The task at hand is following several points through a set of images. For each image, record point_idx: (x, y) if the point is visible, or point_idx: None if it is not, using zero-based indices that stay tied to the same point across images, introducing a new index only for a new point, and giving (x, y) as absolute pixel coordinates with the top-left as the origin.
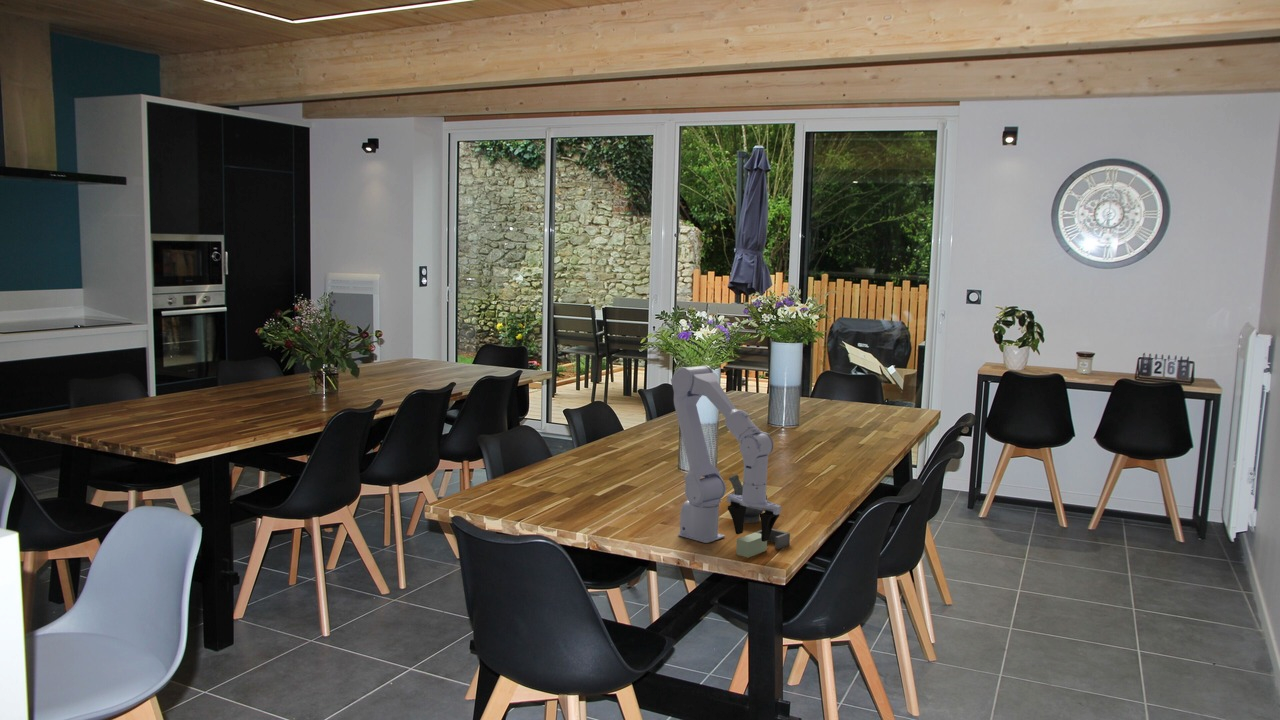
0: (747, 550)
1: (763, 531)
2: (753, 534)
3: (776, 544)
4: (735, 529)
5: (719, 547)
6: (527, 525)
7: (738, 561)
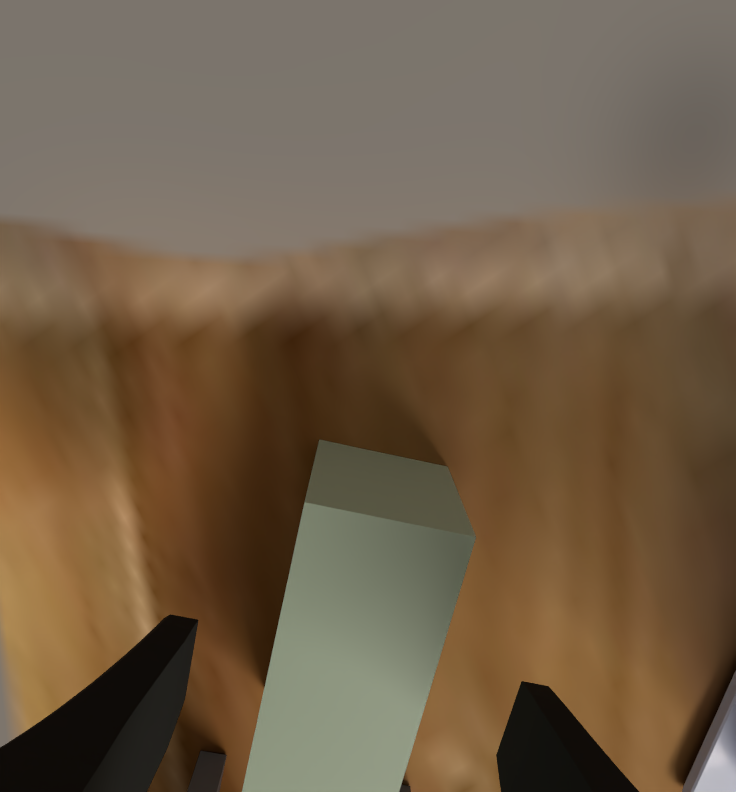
0: (324, 464)
1: (109, 688)
2: (373, 769)
3: (202, 787)
4: (571, 720)
5: (642, 555)
6: None
7: (351, 289)
